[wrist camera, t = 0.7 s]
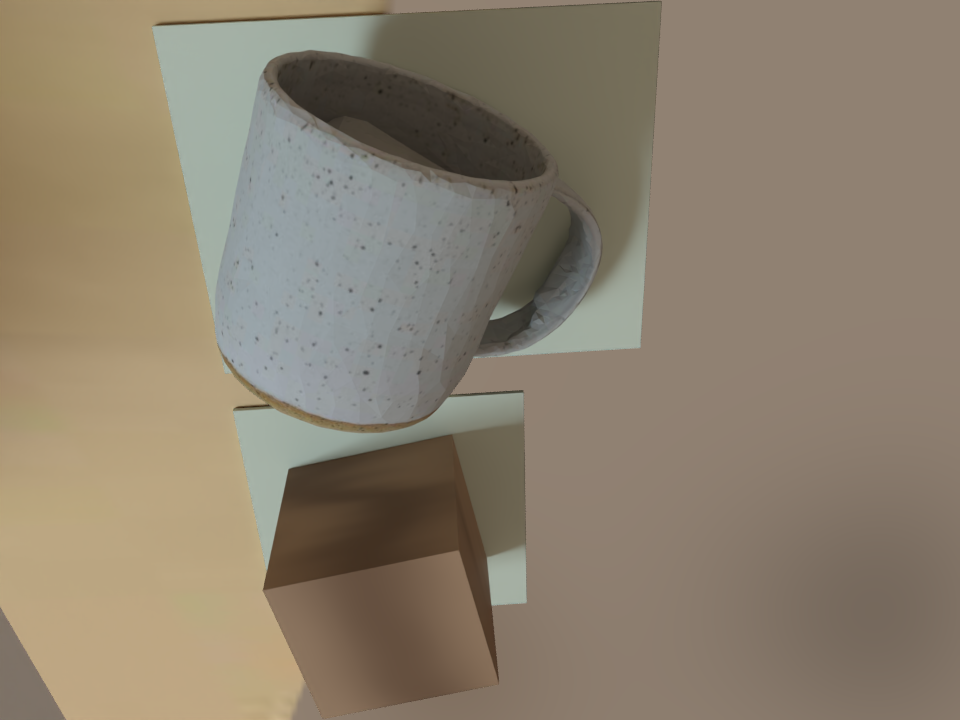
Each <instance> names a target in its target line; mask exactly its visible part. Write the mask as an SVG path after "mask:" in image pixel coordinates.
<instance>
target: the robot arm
mask: <svg viewBox="0 0 960 720" xmlns="http://www.w3.org/2000/svg"><path fill="white" fill-rule="evenodd" d="M0 720H66V719H65V717H64V716H63V714H62V712H61V710H60V709H59V707H58V705H57V704H56V702H55V700H54V698H53V697H52V695H51V693H50V692H49V690H48V688H47V686H46V685H45V683H44V681H43V680H42V678H41V676H40V675H39V673H38V671H37V669H36V668H35V666H34V664H33V663H32V661H31V659H30V657H29V656H28V654H27V652H26V651H25V649H24V647H23V645H22V644H21V642H20V640H19V639H18V637H17V635H16V633H15V632H14V630H13V628H12V627H11V625H10V623H9V621H8V620H7V618H6V616H5V615H4V613H3V611H2V609H1V608H0Z"/></svg>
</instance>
